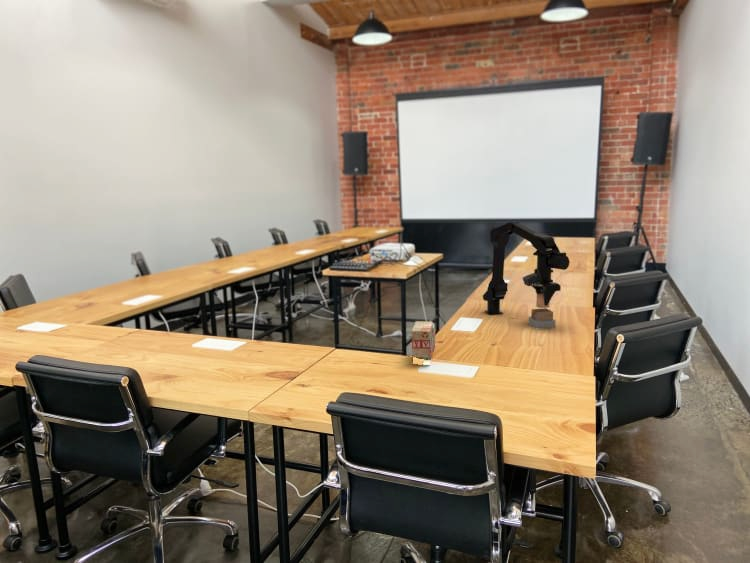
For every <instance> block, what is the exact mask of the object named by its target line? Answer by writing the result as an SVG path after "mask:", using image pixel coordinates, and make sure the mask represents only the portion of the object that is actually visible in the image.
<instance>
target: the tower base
mask: <svg viewBox="0 0 750 563" xmlns="http://www.w3.org/2000/svg"><path fill="white" fill-rule="evenodd" d="M528 325H529V326H531V325H532V326H531V327H533V328H534V327H535V328H534V329H536V328H540V329H555V328H556V320H555V319H554V318H553V320H547V321H537V320H535V319H533V318H532V317H531V316H528ZM554 327H555V328H554ZM540 329H539V330H540Z"/></svg>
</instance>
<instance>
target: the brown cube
mask: <svg viewBox="0 0 750 563" xmlns="http://www.w3.org/2000/svg"><path fill="white" fill-rule="evenodd" d="M535 301H536V305H535V306H536V308H538V309H543V308H547V309H548V308H549V309H550V302H551V301H550V302H549V303H548V305H547V306H545V305H544V296H543V294H536V300H535Z"/></svg>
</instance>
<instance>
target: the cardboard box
mask: <svg viewBox="0 0 750 563" xmlns="http://www.w3.org/2000/svg"><path fill="white" fill-rule="evenodd" d="M435 349H436V332H435V323H434V322H433V321H421V320H420V321H418V320H417V321H415V322H414V326H413V328H411V350H412V352H411V353H412V355H411V357H416V358H418V359H424V360H431V359H432V360H433V358H434V352H435Z"/></svg>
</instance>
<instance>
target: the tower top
mask: <svg viewBox="0 0 750 563" xmlns="http://www.w3.org/2000/svg"><path fill="white" fill-rule="evenodd" d="M530 317H532V318H533V319H535V320H537V321H547V320H553V319H554V311H552V310H551V309H550V308H549V309H548V308H531V314H530Z"/></svg>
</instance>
